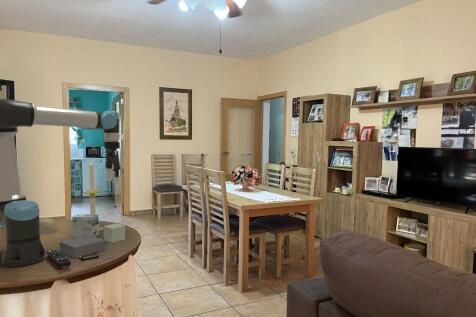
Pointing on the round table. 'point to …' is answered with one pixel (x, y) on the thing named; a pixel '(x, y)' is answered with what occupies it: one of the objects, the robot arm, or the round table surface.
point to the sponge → (47, 226)
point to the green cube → (114, 233)
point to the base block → (82, 246)
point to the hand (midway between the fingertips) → (112, 182)
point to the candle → (92, 191)
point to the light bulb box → (85, 225)
